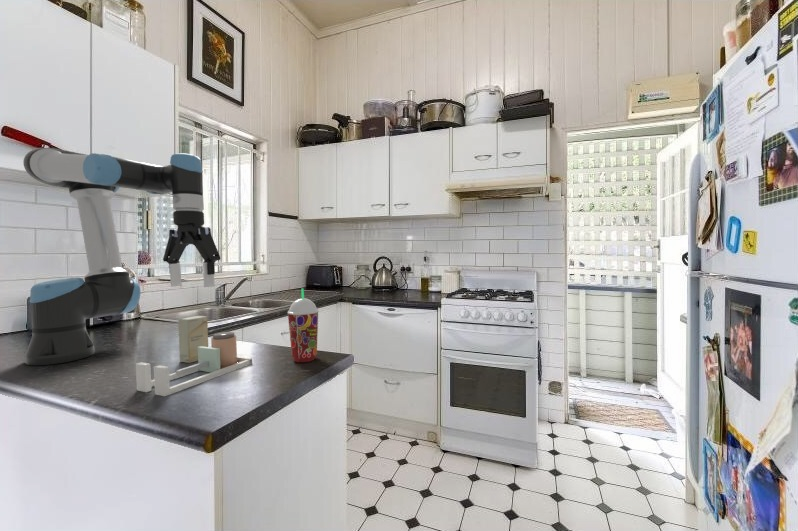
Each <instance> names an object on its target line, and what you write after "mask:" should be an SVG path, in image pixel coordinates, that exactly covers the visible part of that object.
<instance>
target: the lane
mask: <svg viewBox="0 0 798 531" xmlns="http://www.w3.org/2000/svg"><path fill="white" fill-rule="evenodd" d="M237 362H238V363H236V364H234V365H231V366H228V367H225V368H222V369H220V370H217V371H214V372H207V373H206V374H203V375H201V376H198V377H197V376H196V377H195V378H191V379H189V380H186V381H184V382H181V383H178V384H175V385H173V386H171V384H170V381H173V380H177V379H179V378H181V377H185V376H187V375H190V374H194V373H196V372H200V370H199V369H197V370H194V371H191V372H188V373H185V374H182V375H176V371H175V372H173V373H170V367H169V366H167V365H166V366H165V365H159V364H158V365H156V366H153V376H154V377H153V379H152V370H151V369H152V367H151V363H149V362H137V363H135V375H136V376H135V378H136V379H135V380H136V391H139V392H142V393H149V392H151V391H152V388H153V387H154V395H155V396H162V397H167V396H170V395H172V394H175V393H178V392H180V391H184V390H186V389H188V388H191V387H194V386H197V385H199V384H202V383H204V382H208V381H210V380H212V379H215V378H218V377H220V376H223V375H226V374H228V373H231V372H233V371H237V370H239V369H241V367H242V368H244V367H243V366H245V367H247V366H250V365H252V364H253V358H252V357H245V356H239V355H237ZM251 363H252V364H251ZM249 364H250V365H249ZM246 365H247V366H246ZM236 369H237V370H236Z"/></svg>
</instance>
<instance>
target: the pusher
mask: <svg viewBox="0 0 798 531" xmlns="http://www.w3.org/2000/svg"><path fill="white" fill-rule="evenodd" d="M197 369H199V370H200V371H201V372H207V373H211V372H214V371H217V370H220V348H212V347H211V346H208V347H204V346H200V347H198V361H197V363H195V364H193V365H189V366H187V367H183V368H179V369H177V370H175V372H176V375H182V374H185V373H188V372H191V371H194V370H197ZM200 371H199V372H200Z"/></svg>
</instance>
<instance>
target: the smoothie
mask: <svg viewBox="0 0 798 531" xmlns="http://www.w3.org/2000/svg"><path fill="white" fill-rule="evenodd" d="M300 294H301V296H300V297H301V298H298V299H295V300H294V301H293V302H292V303H291V305H290V307H289V309H288V311H287V317H288V328H289V329H288V330H289V331H288V332H289V341H290V349H291V357H292V358H293V361H294V362H296V363H310V362H312V361H314V360H315V359H316V355H317V354H318V335H319V334H318V332H319V331H318V330H319V309H318V308H317V306H316V304H315V303H314V301H312V300H311V299H309V298H306V297H305V291H304V288H301V292H300Z"/></svg>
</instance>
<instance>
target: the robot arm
mask: <svg viewBox="0 0 798 531" xmlns="http://www.w3.org/2000/svg"><path fill="white" fill-rule="evenodd" d="M22 162H23V167H24V170H25V172H26V173H27V174H28V175H29V176H30V177H31V178H33V179H34V180H36V181H38V182H40V183H43V184H44V185H48V186H53V187H59V188H67V189H68V191H69V196H70V197H71V198H72V199H74V200H76V202H77V208H78V214H79V218H80V224H81V230H82V231H81V232H82V236H83V237H82V238H83V241H84V242H83V243H84V248H85V254H86V260H87V266H88V269H89V270H88V273H87V274H86V275H85V276H84V277H68V278H59V279H54V280H47V281H42V282H38V283H36V284H34V285H33V286H31V288H30V298H29V303H30V314H31V315H30V316H31V334H32V336H31V338H30V342H29V344H28V347H27V350H26V352H25V356H24V361H25V365H27V366H46V365H56V364H63V363H69V362H74V361H79V360H81V359H85V358H88V357H90V356H93V355H94V354H95V345H94V343H93V341H92V339H91V337H90V335H89V332H88V330H87V327H86V326H87V325H86V324H87V323H86V320H88V319H95V318H101V317H108V316H109V317H110V316H117V315H122V314H127V313H130V312H132V311H133V310H134V309H135V308H136V307H137V306H138V304H139V302H140V300H141V294H142V293H141V287H140V284H139V282H138V280H137V279H135V278H133V277H130V272H129V271H128V270H127V269H124V268H123V265H122V264H123V263H122V258H121V254H120V248H119V247H120V246H119V241H118V238H117V237H118V236H117V231H116V225H115V220H114V214H113V209H112V204H111V200H112V199H113V198H114V197H115V195H116V194H115V193H116V192H118V191H119V190H120V188H124V189H131V190H138V191H145V192H147V193H149V194H151V195H166V194H172V209H173V210H174V211H173V213H172V215H173V216H172V219H173V224H174V225H175V226H176V227H177V229H175V228H174V229H173V228H170V229H169V232H168V234H169V235H168V240H167V243H166V247H165V249H164V250H165V251H164V255H163V259H162V260H163V262H166V263H167V264H168V265H169V266H168V268H169V276H170V279H169V280H170V287H171V288H172V287H179V286H180V287H181V286H182V271H181V267H182V266H181V262H180V259H181V257H182V255H183V253H184V251H185V249H186V248H187V246H189V245H192V246H194V247H195V248H196V250H197V252H198V253H199V254H200V257H202V259H203V263H202V268H203V269H202V271H203V287H204V288H210V287H211V288H212V287H215V274H216V269H215V268H216V267H215V263H216V262H217V261H220V260H221V255H220V253H219V251H218V249H217V246H216V244H215V241H214V237H213V236H212V231H211V227H210V226H204V225H205V213H204V212H203V211H204V210H205V206H204V188H203V184H204V183H203V168H202V161H201V158H200V157H199V156H197V155H194V154H191V153H190V154H189V153H181V152H180V153H178V152H177V153H174V154H172V155H171V156H170V161H169V164H168V165H163V166H162V165H156V164H151V163H148V162H147V163H146V162H140V161H135V160H131V159H126V158H121V157H117V156H116V157H115V156H112V155H109V154H103V153H95V152H94V153H90V154H85V153H79V152H76V151H75V152H74V151H69V150H66V149H65V150H64V149H61V148H55V147H54V148H53V147H39V148H34V149H32V150H30V151H29V152H27V153H26V154H25V155H24V157H23V161H22Z"/></svg>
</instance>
